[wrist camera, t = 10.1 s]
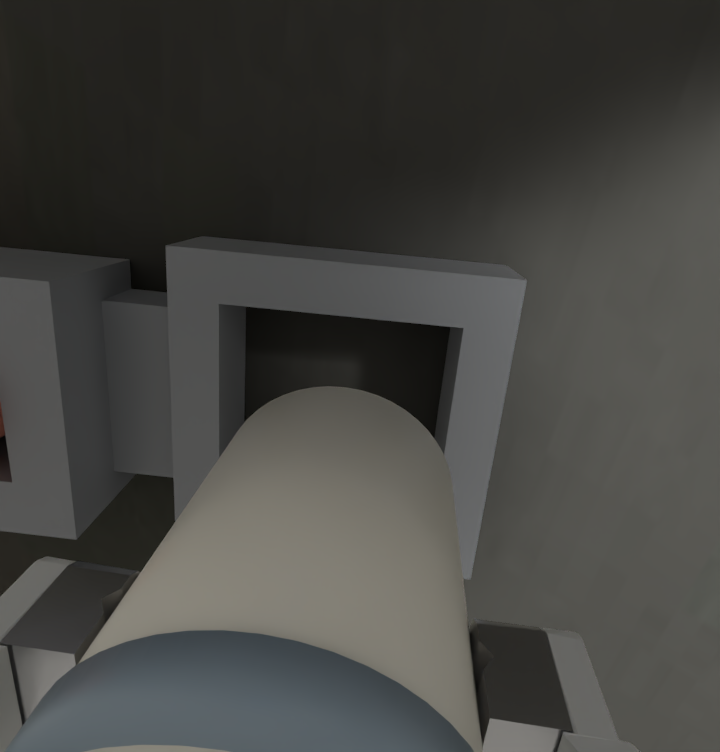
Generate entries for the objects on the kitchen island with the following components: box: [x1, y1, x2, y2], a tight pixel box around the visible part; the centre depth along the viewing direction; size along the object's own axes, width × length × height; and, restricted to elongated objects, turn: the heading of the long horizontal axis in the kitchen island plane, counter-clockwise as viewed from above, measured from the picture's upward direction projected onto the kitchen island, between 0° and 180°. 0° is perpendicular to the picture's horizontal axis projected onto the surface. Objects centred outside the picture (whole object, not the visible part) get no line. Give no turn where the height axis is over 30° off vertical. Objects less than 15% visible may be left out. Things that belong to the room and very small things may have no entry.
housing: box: [0, 236, 527, 579], centre depth 17 cm, size 20×10×4 cm, turn 85°
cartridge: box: [4, 386, 483, 752], centre depth 8 cm, size 5×5×8 cm
